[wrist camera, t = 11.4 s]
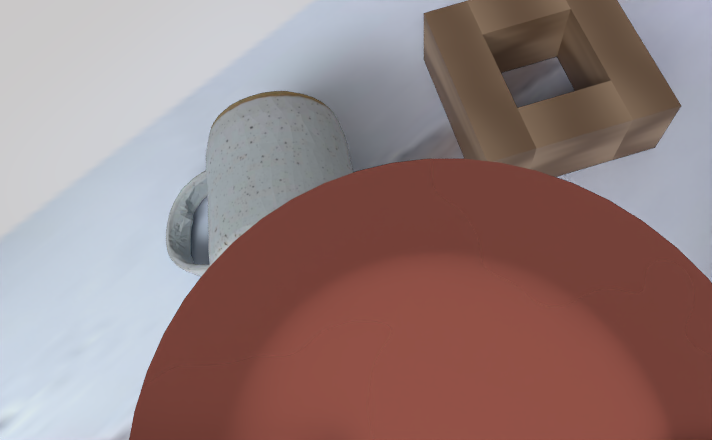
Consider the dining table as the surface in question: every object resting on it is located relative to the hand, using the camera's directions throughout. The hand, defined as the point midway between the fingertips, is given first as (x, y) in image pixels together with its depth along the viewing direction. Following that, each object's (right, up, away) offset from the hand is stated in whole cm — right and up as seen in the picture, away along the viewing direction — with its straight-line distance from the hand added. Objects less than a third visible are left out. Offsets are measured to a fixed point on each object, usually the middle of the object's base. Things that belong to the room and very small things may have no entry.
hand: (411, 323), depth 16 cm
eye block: (+9, +9, +21) cm, 25 cm away
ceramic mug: (-6, +2, +20) cm, 21 cm away
